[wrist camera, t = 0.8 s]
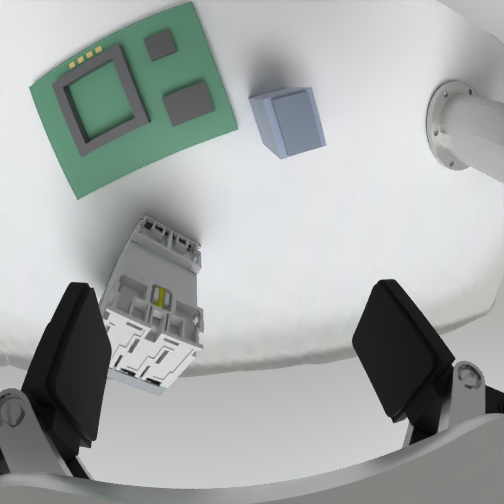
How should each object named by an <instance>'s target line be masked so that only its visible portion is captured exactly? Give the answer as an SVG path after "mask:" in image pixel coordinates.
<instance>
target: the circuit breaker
mask: <svg viewBox="0 0 504 504" xmlns="http://www.w3.org/2000/svg"><path fill="white" fill-rule="evenodd" d="M141 218H142V219H143V220H141V219H140V221H139V222H138V223H137V225H136V226H135V228H134V230H133V232H132V234H131V236H130V237H129V239H128V241H127V243H126V245H125V247H124V249H123V251H122V253H121V255H120V257H119V259H118V261H117V263H116V265H115V267H114V269H113V272H112V274H111V278H110V279H109V282H108V284H107V287H106V289H105V291H104V293H103V296H102V298H101V300H100V302H99V304H98V305H99V309H100V312H101V315H102V319H103V322H104V325H105V328H106V331H107V334H108V337H109V340H110V343H111V347H112V355H111V360H110V364H109V369H108V374H107V377H109V378H111V379H114V380H117V381H119V382H122V383H125V384H128V385H130V386H133V387H135V388H138V389H141V390H144V391H148V392H150V393H153V394H157V395H159V396H160V395H161V394H162V393H163V392H164V391H165V390H166V389H167V388H168V387H169V386H170V384H171V383H172V382H173V381H174V380H175V379H176V378H177V377H178V376H179V375H180V374H181V373H182V372H183V371H184V369H185V368H186V367H187V366H188V365H189V364H190V363H191V362H192V361H193V360H194V359H195V358H196V350H199V351H202V350H203V345H201V344H199V337H200V336H201V335H202V334H203V333H204V323H203V309H201V308H199V307H197V274H198V273H199V271H200V269H201V252H200V251H198V249H200V247H201V245H200V244H198V243H196V242H194V241H192V240H190V239H189V238H187V237H185V236H183V235H181V234H179V233H178V232H176V231H174V230H172V229H170V228H169V227H167V226H165V225H163V224H161V223H159V222H158V221H156V220H154V219H152V218H150V217H149V216H147V215H145V214H142V216H141ZM147 222H150V223H151V224H152V226H151V228H150V230H149V229H147V228H145V227H144V226H145V224H146V223H147ZM155 225H156V226H158V227H160V228H162V229H163V231H160V230H158V229H157V228H155ZM165 231H166V232H168V234H167V235H165ZM173 236H175V239H172V237H173ZM179 238H180V239H182V240H184V241H185V244H184V243H182V242H180V241H179ZM188 244H190V245H191V247H190V249H189V250H187V249H188ZM197 321H198V322H197ZM196 322H197V323H196ZM195 323H196V325H195ZM148 381H151V382H148Z"/></svg>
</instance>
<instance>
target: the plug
mask: <svg viewBox="0 0 504 504" xmlns="http://www.w3.org/2000/svg"><path fill="white" fill-rule="evenodd" d="M249 102H250V105H251V108H252V111H253V114H254V117H255V120H256V123H257V126H258V129H259V132H260V135H261V138H262V141H263V144H264V145H265V146H266V147H267V148H268V149H270V150H271V151H272V152H273V153H274V154H275V155H276V156H278V157H279V158H280V159H283V158H286V157H290V156H293V155H296V154H299V153H303V152H306V151H309V150H313V149H316V148H319V147H323V146H326V142H325V137H324V133H323V129H322V125H321V121H320V117H319V113H318V110H317V106H316V102H315V99H314V95H313V91H312V88H311V87H298V88H284V89H281V90H277V91H273V92H269V93H266V94H262V95H259V96H255V97H252V98H249Z"/></svg>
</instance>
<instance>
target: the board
mask: <svg viewBox="0 0 504 504" xmlns="http://www.w3.org/2000/svg"><path fill="white" fill-rule="evenodd" d="M29 88H30V91H31V94H32V97H33V100H34V103H35V106H36V108H37V111H38V114H39V116H40V119H41V121H42V124H43V126H44V129H45V131H46V134H47V136H48V138H49V141H50V143H51V145H52V148H53V150H54V152H55V155H56V157H57V159H58V161H59V163H60V165H61V168H62V170H63V172H64V174H65V176H66V178H67V180H68V182H69V184H70V186H71V188H72V190H73V192H74V194H75V196H76V198H77V200H78V199H80V198H82V197H84V196H86V195H88V194H89V193H91V192H93V191H95V190H97V189H99V188H101V187H103V186H105V185H107V184H109V183H111V182H113V181H115V180H117V179H119V178H121V177H123V176H125V175H127V174H129V173H131V172H133V171H135V170H138V169H140V168H142V167H144V166H146V165H148V164H151V163H153V162H155V161H157V160H160V159H162V158H164V157H167V156H169V155H172V154H174V153H176V152H179V151H181V150H184V149H186V148H189V147H191V146H194V145H196V144H199V143H202V142H204V141H207V140H210V139H212V138H215V137H218V136H221V135H223V134H226V133H229V132H232V131H235V130H238V127H237V124H236V121H235V118H234V115H233V112H232V110H231V107H230V104H229V101H228V98H227V95H226V93H225V90H224V87H223V84H222V82H221V79H220V76H219V73H218V70H217V68H216V65H215V62H214V60H213V57H212V54H211V51H210V49H209V46H208V43H207V41H206V38H205V35H204V33H203V30H202V27H201V25H200V22H199V20H198V17H197V14H196V12H195V9H194V7H193V4H192V2H189V3H186V4H183V5H180V6H177V7H174V8H172V9H169V10H166V11H164V12H161V13H158V14H156V15H153V16H151V17H149V18H146V19H144V20H142V21H139V22H137V23H135V24H133V25H130V26H128V27H126V28H124V29H122V30H120V31H118V32H116V33H114V34H112V35H110V36H108V37H106V38H104V39H102V40H100V41H99V42H97V43H95V44H93V45H92V46H90V47H88V48H86V49H85V50H83V51H81V52H80V53H78V54H76V55H75V56H73V57H72V58H70V59H68V60H67V61H65V62H64V63H62V64H61V65H59V66H58V67H56V68H55V69H53V70H52V71H51V72H49V73H48V74H46V75H45V76H44V77H42V78H41V79H39V80H38V81H37V82H35V83H34V84H33V85H32V86H30V87H29Z"/></svg>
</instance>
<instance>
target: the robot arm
mask: <svg viewBox="0 0 504 504" xmlns="http://www.w3.org/2000/svg"><path fill="white" fill-rule="evenodd" d="M427 135H428V140H429V144H430V147H431V150H432V152H433V154H434V156H435V157H436V159H437V160H438V161H439V162H440V163H441V164H442V165H444V166H445V167H447V168H449V169H452V170H456V171H457V170H463V169H466V168H468V167H469V166H470V167H473V168H475V169H477V170H479V171H481V172H483V173H485V174H487V175H489V176H491V177H492V178H494V179H496V180H498V181H500V182H502V183H504V103H502V102H498V101H494V100H490V99H486V98H481V97H479V96H478V95H477V93H476V92H475V91H474V90H473V89H472V88H471V87H470V86H468V85H467V84H464V83H462V82H448V83H445V84H443V85H442V86H441V87H439V89H438V90H437V91H436V92H435V94H434V96H433V98H432V100H431V102H430V105H429V109H428V115H427ZM352 344H353V347H354V349H355V351H356V353H357V355H358V357H359V359H360V361H361V363H362V365H363V367H364V369H365V371H366V373H367V375H368V377H369V379H370V381H371V383H372V385H373V387H374V389H375V391H376V393H377V396H378V398H379V400H380V402H381V404H382V406H383V408H384V411H385V413H386V414H387V416H388V417H391V419H392V421H393V423H396V422H399V421H402V420H404V419H406V417H408V419H409V425H408V429H407V433H406V436H405V440H404V443H403V447H402V449H400V450H398V451H395V452H392V453H389V454H387V455H384V456H381V457H378V458H375V459H372V460H369V461H367V462H363V463H360V464H357V465H353V466H350V467H347V468H343V469H339V470H336V471H332V472H327V473H323V474H319V475H315V476H310V477H305V478H300V479H295V480H289V481H283V482H277V483H270V484H263V485H254V486H245V487H232V488H214V489H169V488H153V487H139V486H130V485H121V484H113V483H105V482H100V481H94V479H93V478H92V476H91V475H90V473H89V472H88V471H87V469H86V468H85V466H84V465H83V463H82V462H81V460H80V459H79V457H78V453H79V446H82V447H87V448H91V443H92V441H95V440H96V438H97V432H98V425H99V418H100V412H101V406H102V400H103V394H104V389H105V384H106V379H107V374H108V369H109V364H110V360H111V355H112V347H111V343H110V340H109V337H108V334H107V331H106V328H105V325H104V322H103V319H102V315H101V312H100V309H99V305H98V301H97V298H96V294H95V291H94V289H93V288H90V287H89V285H88V283H79V282H71V283H70V284H69V285H68V287H67V289H66V291H65V293H64V295H63V297H62V299H61V301H60V303H59V305H58V307H57V309H56V311H55V313H54V315H53V317H52V319H51V321H50V323H48V325H47V327H46V329H45V331H44V333H43V335H42V338H41V340H40V342H39V344H38V347H37V349H36V352H35V354H34V356H33V359H32V361H31V364H30V366H29V369H28V372H27V375H26V377H25V380H24V383H23V385H22V389H21V391H20V390H18V389H15V388H13V389H12V388H10V389H5V390H3V391H1V392H0V504H504V393H503V392H500V391H498V390H495V389H493V388H491V387H489V386H486V385H485V381H484V376H483V374H482V372H481V371H480V369H479V368H478V367H477V366H476V365H474V364H472V363H471V362H468V361H460V362H458V363H457V364H456V365H455V366H454V367H453V366H452V363H453V362H454V360H455V357H454V356H453V355H452V353H451V352H450V350H449V349H448V347H447V346H446V345H445V343H444V342H443V340H442V339H441V338H440V336H439V335H438V333H437V332H436V331H435V329H434V328H433V327H432V325H431V324H430V323H429V321H428V320H427V319H426V317H425V316H424V315H423V314H422V312H421V311H420V310H419V308H418V307H417V306H416V305H415V303H414V302H413V301H412V300H411V298H410V297H409V296H408V295H407V293H406V292H405V291H404V290H403V288H402V287H401V286H400V285H399V284H398V282H397V281H396V280H394V279H387V280H379V281H378V282H377V284H375V285H374V287H373V289H372V291H371V294H370V297H369V299H368V302H367V304H366V307H365V309H364V312H363V314H362V316H361V319H360V321H359V324H358V326H357V328H356V331H355V333H354V335H353V338H352Z"/></svg>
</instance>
